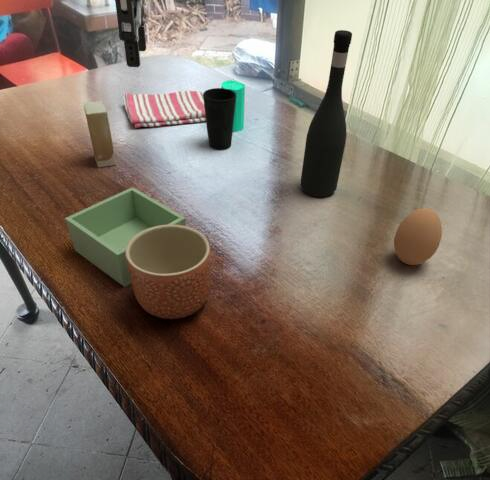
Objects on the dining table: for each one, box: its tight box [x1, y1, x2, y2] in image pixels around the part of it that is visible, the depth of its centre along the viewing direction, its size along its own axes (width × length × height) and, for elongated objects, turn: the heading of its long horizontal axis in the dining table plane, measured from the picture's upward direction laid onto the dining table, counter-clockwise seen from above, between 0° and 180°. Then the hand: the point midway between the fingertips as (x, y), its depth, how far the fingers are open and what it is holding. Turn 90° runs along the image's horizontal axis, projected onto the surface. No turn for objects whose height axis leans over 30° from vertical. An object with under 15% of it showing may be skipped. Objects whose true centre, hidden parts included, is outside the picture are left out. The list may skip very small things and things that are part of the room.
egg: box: [393, 207, 443, 266], centre depth 79 cm, size 8×8×11 cm
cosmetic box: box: [83, 100, 117, 168], centre depth 101 cm, size 6×4×12 cm
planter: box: [125, 225, 212, 320], centre depth 70 cm, size 12×12×11 cm
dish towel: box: [122, 90, 206, 129], centre depth 124 cm, size 17×23×4 cm
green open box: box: [64, 186, 187, 288], centre depth 81 cm, size 15×15×7 cm
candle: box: [220, 79, 246, 133], centre depth 116 cm, size 6×6×12 cm
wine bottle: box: [300, 29, 353, 198], centre depth 89 cm, size 8×8×30 cm
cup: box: [202, 87, 236, 151], centre depth 109 cm, size 8×8×12 cm
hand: (137, 58), depth 80 cm, fingers open, 8 cm apart
